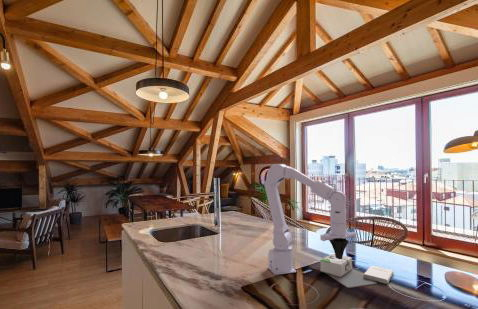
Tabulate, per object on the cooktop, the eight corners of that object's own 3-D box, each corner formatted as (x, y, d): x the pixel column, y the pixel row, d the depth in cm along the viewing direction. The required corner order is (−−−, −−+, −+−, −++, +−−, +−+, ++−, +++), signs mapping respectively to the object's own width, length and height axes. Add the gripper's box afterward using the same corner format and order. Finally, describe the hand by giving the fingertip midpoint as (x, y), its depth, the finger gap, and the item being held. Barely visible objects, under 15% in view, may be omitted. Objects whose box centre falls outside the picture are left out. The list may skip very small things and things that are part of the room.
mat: (347, 288, 92) (347, 287, 92) (324, 272, 106) (324, 271, 106) (377, 283, 96) (377, 283, 96) (351, 269, 109) (351, 268, 109)
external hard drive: (363, 278, 100) (371, 268, 109) (387, 284, 94) (393, 273, 104) (363, 273, 100) (371, 264, 109) (387, 279, 94) (393, 269, 104)
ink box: (319, 259, 106) (332, 253, 114) (320, 272, 106) (332, 264, 114) (340, 264, 100) (352, 257, 109) (341, 277, 100) (352, 269, 108)
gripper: (327, 225, 95) (328, 264, 94) (361, 223, 98) (362, 259, 98) (317, 221, 101) (317, 257, 101) (349, 219, 105) (349, 253, 105)
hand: (338, 258), depth 100 cm, fingers closed
